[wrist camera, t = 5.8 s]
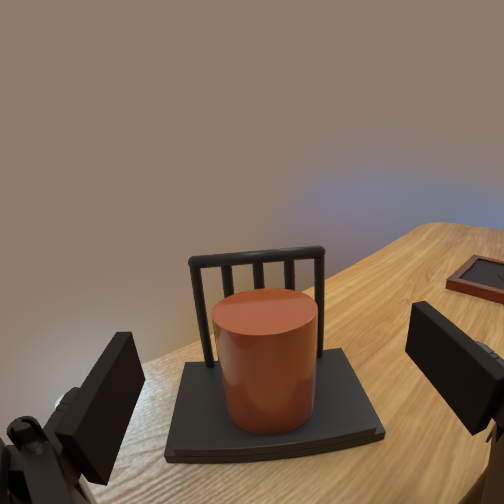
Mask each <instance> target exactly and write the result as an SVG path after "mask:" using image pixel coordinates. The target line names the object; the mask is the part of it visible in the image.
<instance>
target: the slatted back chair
mask: <svg viewBox="0 0 504 504" xmlns="http://www.w3.org/2000/svg"><path fill="white" fill-rule="evenodd" d="M324 255H325V249H324V247H322V246H308V247H296V248H284V249H273V250H261V251H249V252H237V253H225V254H213V255H202V256H192V257H190V258H189V260H188V265H189V266H190V273H191V280H192V287H193V294H194V300H195V307H196V313H197V319H198V325H199V331H200V337H201V343H202V348H203V354H204V359H205V362H185V366H184V370H183V374H182V378H181V382H180V387H179V391H178V395H177V399H176V404H175V408H174V412H173V417H172V421H171V426H170V430H169V435H168V439H167V444H166V448H165V453H164V457H165V459H166V461H167V462H175V463H234V462H252V461H265V460H275V459H284V458H292V457H299V456H306V455H312V454H319V453H324V452H330V451H335V450H340V449H345V448H349V447H354V446H358V445H362V444H366V443H370V442H374V441H378V440H382V439H384V436H385V433H386V432H385V430H384V428H383V426H382V424H381V422H380V420H379V418H378V416H377V414H376V412H375V410H374V408H373V406H372V404H371V403H370V401H369V399H368V397H367V395H366V393H365V391H364V389H363V387H362V385H361V384H360V382H359V380H358V378H357V376H356V374H355V372H354V371H353V369H352V367H351V365H350V363H349V361H348V359H347V358H346V356H345V354H344V352H343V350H342V348H336V349H329V350H323V337H324ZM303 259H314V275H315V302H316V304H317V306H318V328H317V364H316V387H315V406H314V410H313V413H312V415H311V416H310V418H309V419H308V420H307V421H306V422H305V423H304V424H303V425H301V426H300V427H298V428H296V429H294V430H292V431H289V432H286V433H283V434H277V435H259V434H254V433H250V432H248V431H245V430H243V429H241V428H239V427H238V426H237V425H235V424H234V423H233V422H232V420H231V419H230V417H229V415H228V412H227V408H226V402H225V396H224V391H223V385H222V379H221V373H220V367H219V361H214V358H213V352H212V345H211V339H210V334H209V327H208V320H207V313H206V307H205V300H204V292H203V285H202V278H201V270H200V268H210V267H221V272H222V281H223V290H224V297H225V298H227V297H229V296H231V295H234V287H233V277H232V267H231V266H233V265H246V264H252V265H253V276H254V277H253V278H254V290H255V289H265V287H264V272H263V263H269V262H281V261H284V278H285V289H288V290H293V291H295V273H294V272H295V270H294V260H303Z"/></svg>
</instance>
